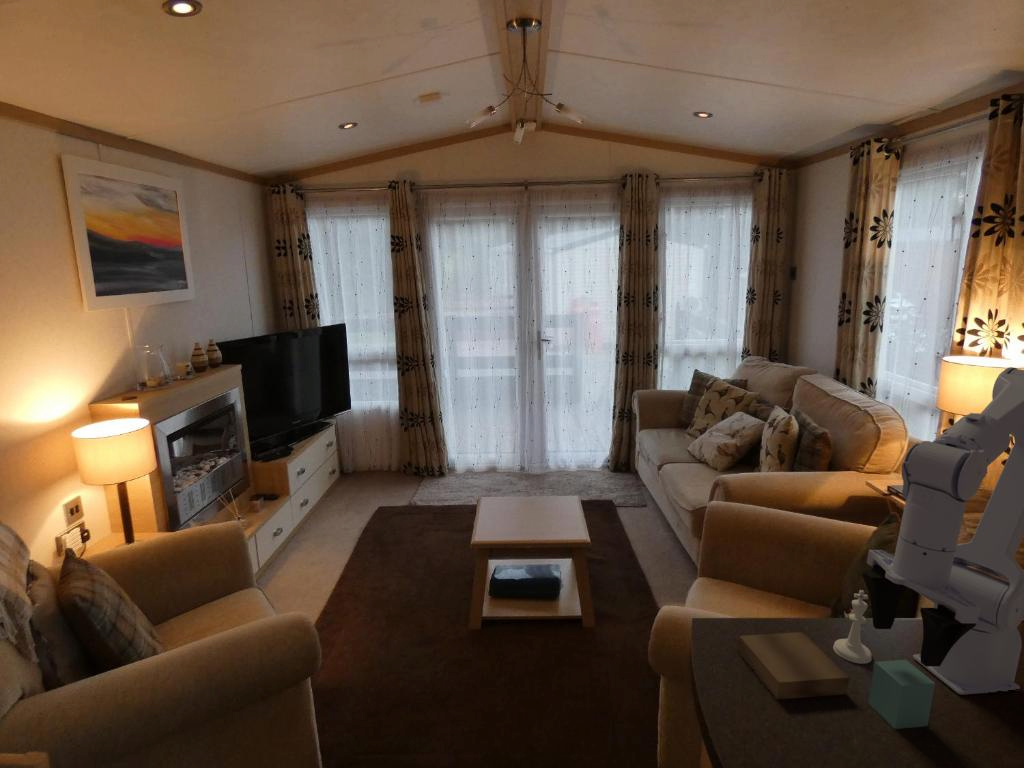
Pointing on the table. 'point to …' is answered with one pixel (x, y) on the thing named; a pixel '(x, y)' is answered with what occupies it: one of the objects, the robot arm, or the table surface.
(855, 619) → the chess piece
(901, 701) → the teal block
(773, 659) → the walnut base
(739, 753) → the table surface
